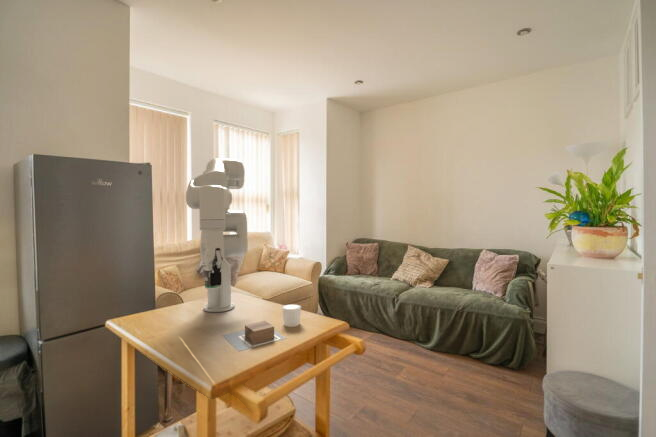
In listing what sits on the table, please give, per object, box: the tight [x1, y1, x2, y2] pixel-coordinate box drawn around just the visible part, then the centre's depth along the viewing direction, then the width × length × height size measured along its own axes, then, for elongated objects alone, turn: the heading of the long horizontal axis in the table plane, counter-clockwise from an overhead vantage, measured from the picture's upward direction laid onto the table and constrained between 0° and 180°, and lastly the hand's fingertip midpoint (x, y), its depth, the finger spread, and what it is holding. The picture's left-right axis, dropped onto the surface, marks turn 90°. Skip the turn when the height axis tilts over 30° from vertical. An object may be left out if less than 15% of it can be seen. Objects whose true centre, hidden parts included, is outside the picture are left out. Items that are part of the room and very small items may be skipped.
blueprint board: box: [221, 329, 287, 352], centre depth 104 cm, size 15×16×1 cm
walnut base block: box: [244, 320, 275, 344], centre depth 103 cm, size 7×7×4 cm
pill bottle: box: [204, 261, 221, 290], centre depth 99 cm, size 5×5×8 cm
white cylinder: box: [281, 303, 302, 328], centre depth 116 cm, size 7×7×7 cm
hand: (213, 283), depth 99 cm, fingers closed on pill bottle, 4 cm apart
